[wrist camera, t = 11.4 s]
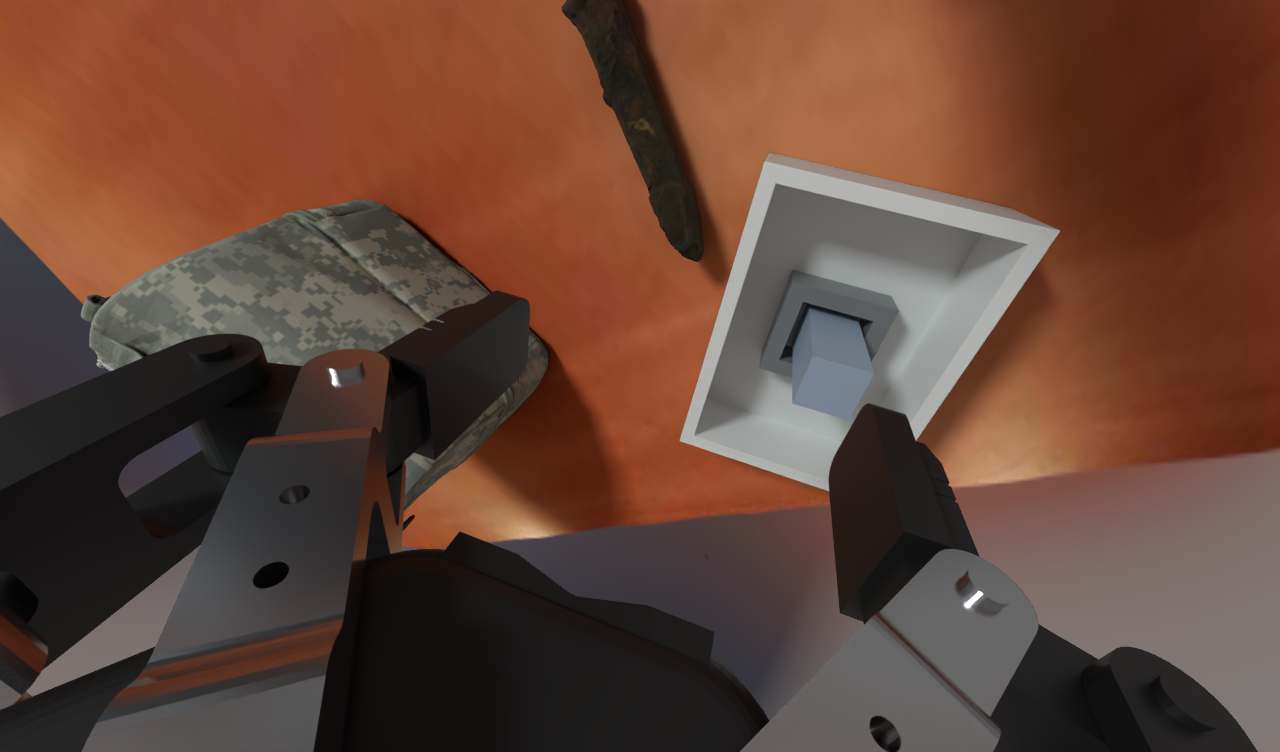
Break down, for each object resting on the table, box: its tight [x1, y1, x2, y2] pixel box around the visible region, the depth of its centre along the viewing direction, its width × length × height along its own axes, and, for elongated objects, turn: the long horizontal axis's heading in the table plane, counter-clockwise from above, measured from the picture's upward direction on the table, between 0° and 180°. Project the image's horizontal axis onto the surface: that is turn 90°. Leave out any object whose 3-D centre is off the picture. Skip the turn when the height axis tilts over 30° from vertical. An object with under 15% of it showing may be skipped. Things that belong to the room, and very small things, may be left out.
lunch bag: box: [81, 199, 548, 530], centre depth 40 cm, size 26×18×22 cm
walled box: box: [680, 152, 1060, 491], centre depth 34 cm, size 22×16×7 cm
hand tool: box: [562, 0, 704, 262], centre depth 32 cm, size 19×4×5 cm, turn 23°
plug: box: [792, 303, 874, 420], centre depth 32 cm, size 4×4×10 cm
